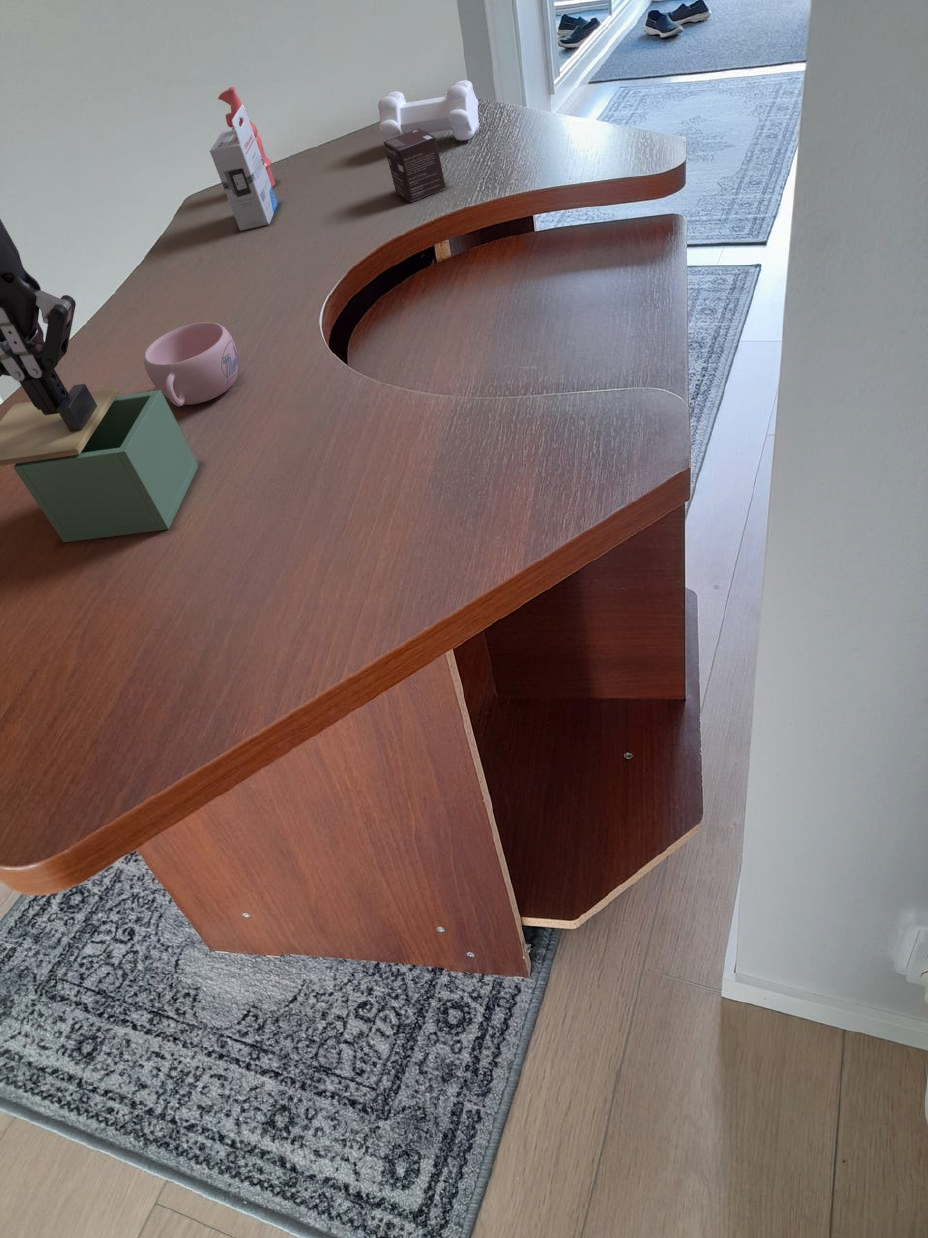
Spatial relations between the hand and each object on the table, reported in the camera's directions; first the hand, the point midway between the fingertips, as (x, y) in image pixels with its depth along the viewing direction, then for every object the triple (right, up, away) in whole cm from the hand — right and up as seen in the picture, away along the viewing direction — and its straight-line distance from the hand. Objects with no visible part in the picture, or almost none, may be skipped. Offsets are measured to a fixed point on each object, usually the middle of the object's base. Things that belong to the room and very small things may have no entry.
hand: (57, 409), depth 81 cm
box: (+30, +44, +52) cm, 75 cm away
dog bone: (+32, +59, +67) cm, 95 cm away
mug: (+7, +6, +20) cm, 22 cm away
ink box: (+5, +43, +59) cm, 73 cm away
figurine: (+3, +53, +69) cm, 87 cm away
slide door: (-2, -2, +2) cm, 3 cm away
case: (+4, -8, +7) cm, 11 cm away
